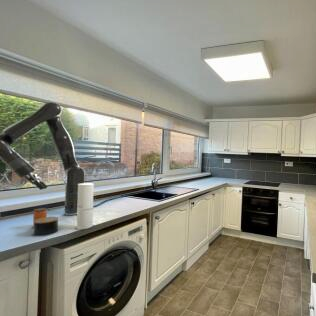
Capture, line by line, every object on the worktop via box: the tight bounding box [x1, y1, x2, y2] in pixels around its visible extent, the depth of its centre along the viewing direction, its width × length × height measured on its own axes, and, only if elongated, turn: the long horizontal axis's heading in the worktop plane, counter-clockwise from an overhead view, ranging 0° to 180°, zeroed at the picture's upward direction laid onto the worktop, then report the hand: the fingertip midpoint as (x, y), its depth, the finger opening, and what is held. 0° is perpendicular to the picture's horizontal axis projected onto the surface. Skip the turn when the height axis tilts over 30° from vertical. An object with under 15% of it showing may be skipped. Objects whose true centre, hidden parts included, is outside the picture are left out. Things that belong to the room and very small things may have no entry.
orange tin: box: [32, 207, 48, 229], centre depth 110 cm, size 5×5×10 cm
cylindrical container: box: [76, 182, 95, 230], centre depth 113 cm, size 7×7×25 cm
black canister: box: [33, 216, 59, 237], centre depth 103 cm, size 9×9×7 cm
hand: (44, 188), depth 117 cm, fingers open, 8 cm apart
